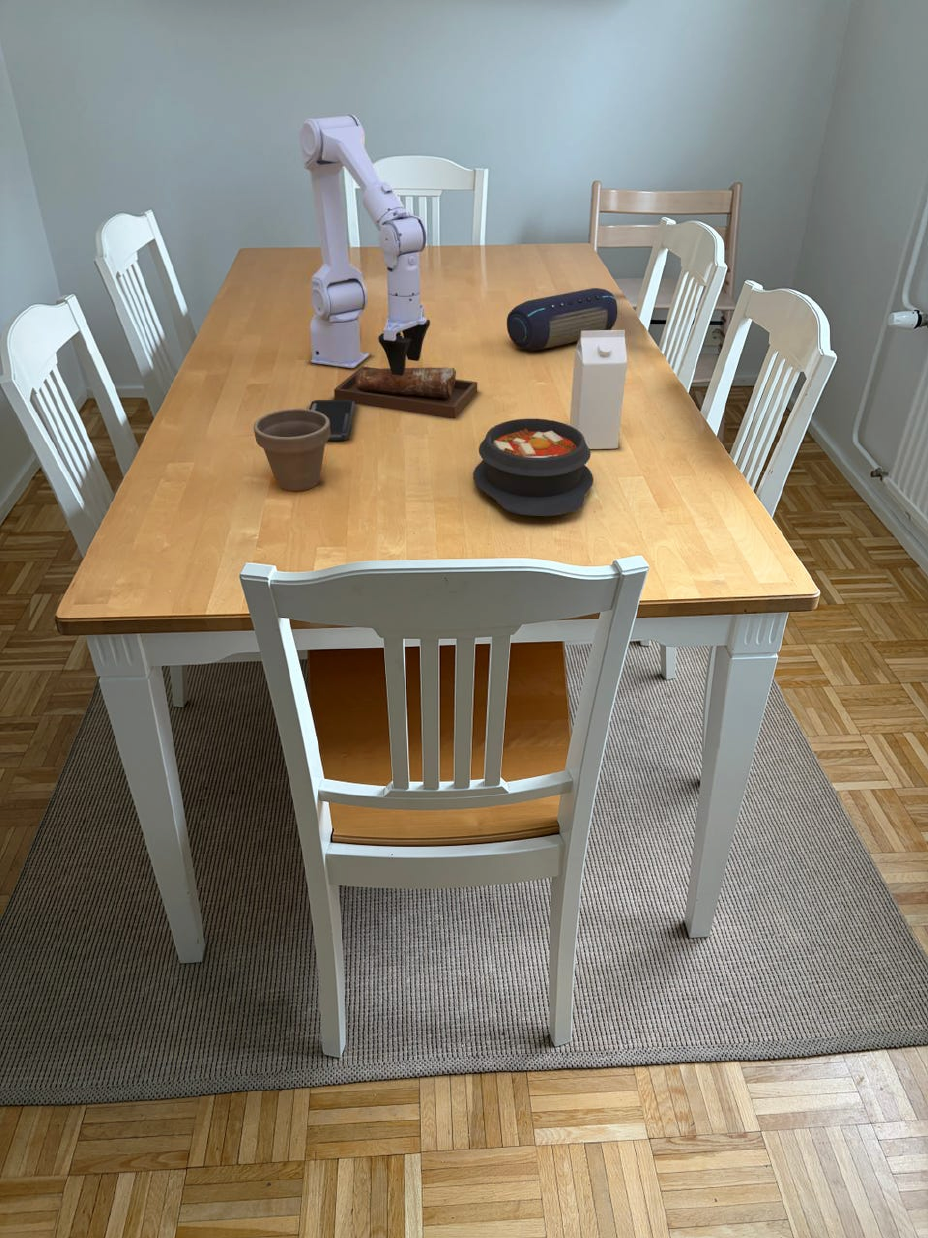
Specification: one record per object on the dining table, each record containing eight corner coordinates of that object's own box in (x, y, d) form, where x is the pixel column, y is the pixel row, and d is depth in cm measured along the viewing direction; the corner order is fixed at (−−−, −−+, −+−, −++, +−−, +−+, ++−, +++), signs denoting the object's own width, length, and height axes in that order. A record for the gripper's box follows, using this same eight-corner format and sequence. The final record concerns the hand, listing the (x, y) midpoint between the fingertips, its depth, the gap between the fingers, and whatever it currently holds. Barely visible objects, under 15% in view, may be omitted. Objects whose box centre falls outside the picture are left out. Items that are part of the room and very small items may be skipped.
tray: (334, 400, 176) (333, 389, 174) (362, 376, 185) (362, 365, 184) (454, 418, 169) (455, 407, 168) (477, 392, 179) (477, 382, 178)
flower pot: (264, 466, 153) (257, 407, 147) (335, 464, 154) (331, 405, 148) (257, 500, 144) (249, 439, 138) (332, 498, 144) (328, 437, 139)
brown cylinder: (452, 404, 173) (452, 374, 170) (352, 394, 176) (350, 365, 173) (460, 391, 178) (460, 362, 175) (362, 382, 181) (361, 353, 178)
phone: (301, 434, 160) (312, 399, 172) (302, 440, 161) (312, 405, 173) (348, 434, 160) (355, 399, 172) (349, 440, 161) (356, 405, 173)
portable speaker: (528, 360, 193) (531, 311, 187) (500, 346, 200) (502, 297, 194) (623, 338, 204) (628, 291, 198) (594, 325, 211) (598, 279, 205)
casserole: (608, 524, 139) (614, 472, 134) (482, 530, 137) (483, 477, 132) (575, 450, 159) (579, 403, 154) (465, 454, 157) (465, 406, 153)
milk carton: (568, 432, 165) (577, 323, 154) (608, 431, 165) (620, 322, 154) (575, 450, 159) (585, 338, 148) (617, 449, 160) (630, 337, 149)
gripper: (409, 306, 160) (411, 383, 167) (439, 282, 171) (440, 356, 179) (371, 301, 161) (374, 378, 169) (403, 278, 173) (405, 351, 180)
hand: (405, 366), depth 174 cm, fingers open, 7 cm apart
